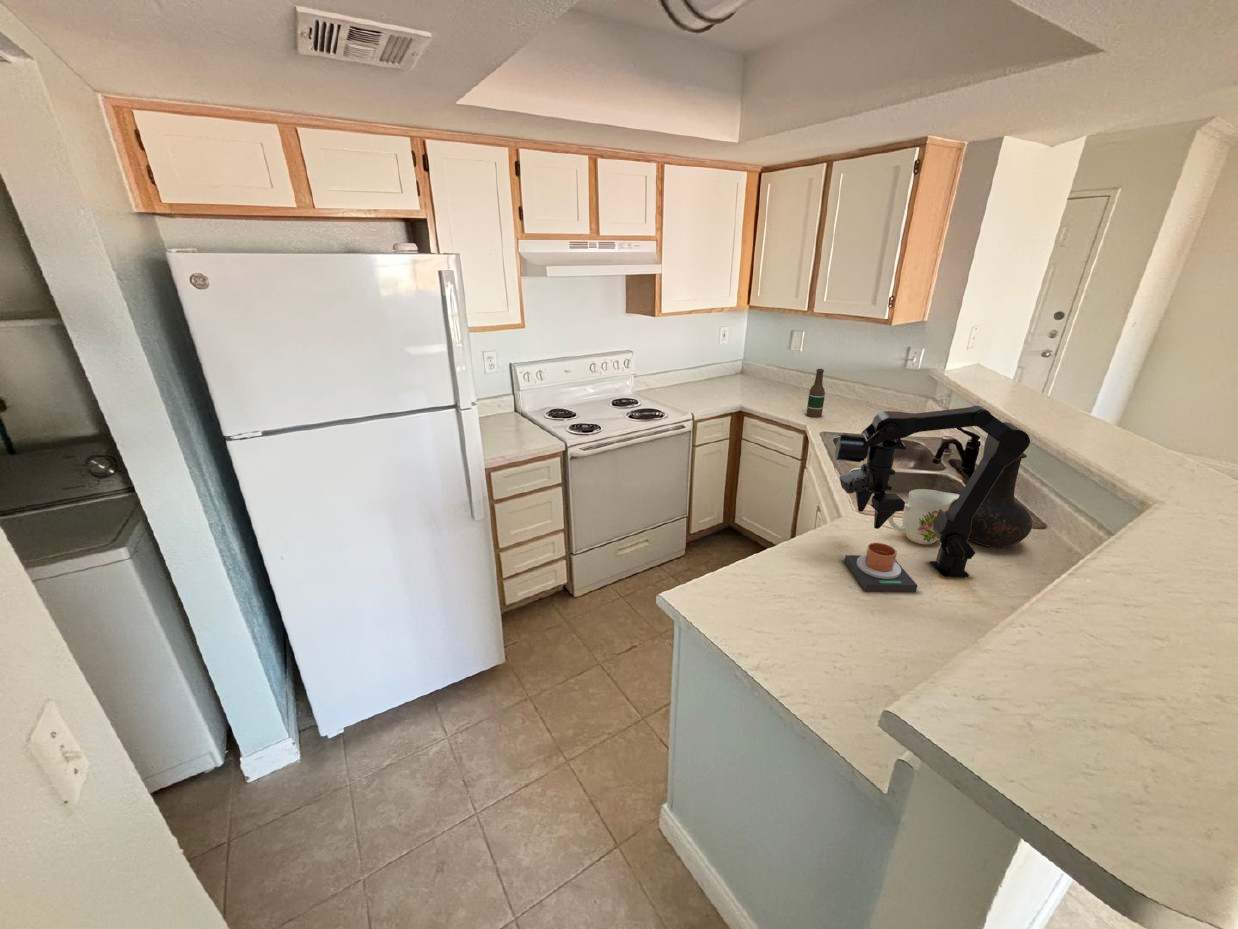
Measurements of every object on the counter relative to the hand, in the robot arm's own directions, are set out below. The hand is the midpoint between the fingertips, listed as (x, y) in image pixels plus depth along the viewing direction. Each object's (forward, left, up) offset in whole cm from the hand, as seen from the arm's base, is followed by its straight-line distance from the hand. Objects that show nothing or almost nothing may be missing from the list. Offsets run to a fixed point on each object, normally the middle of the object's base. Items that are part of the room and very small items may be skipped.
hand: (868, 519), depth 129 cm
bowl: (-7, -1, -9) cm, 12 cm away
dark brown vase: (+11, -39, -12) cm, 42 cm away
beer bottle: (+136, -31, -12) cm, 140 cm away
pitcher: (+11, -20, -12) cm, 26 cm away
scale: (-8, -1, -12) cm, 14 cm away
